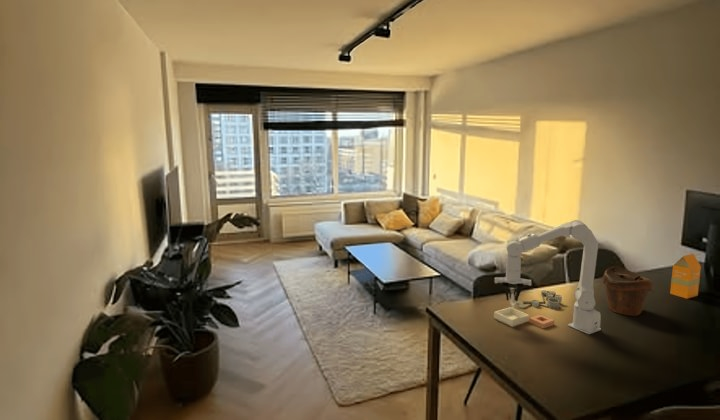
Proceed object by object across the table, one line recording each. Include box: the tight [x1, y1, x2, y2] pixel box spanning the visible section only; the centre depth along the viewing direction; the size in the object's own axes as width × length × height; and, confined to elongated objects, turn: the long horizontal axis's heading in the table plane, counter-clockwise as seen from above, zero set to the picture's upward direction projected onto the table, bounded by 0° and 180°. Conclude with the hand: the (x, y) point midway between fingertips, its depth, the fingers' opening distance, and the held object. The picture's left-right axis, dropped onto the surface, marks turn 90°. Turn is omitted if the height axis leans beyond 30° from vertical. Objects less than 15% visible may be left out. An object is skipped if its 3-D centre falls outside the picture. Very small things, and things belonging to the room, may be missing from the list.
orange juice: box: [669, 253, 702, 300], centre depth 205 cm, size 8×9×20 cm
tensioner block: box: [528, 314, 556, 329], centre depth 178 cm, size 7×7×2 cm
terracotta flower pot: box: [601, 266, 655, 316], centre depth 188 cm, size 18×20×18 cm
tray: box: [493, 306, 530, 328], centre depth 182 cm, size 10×10×3 cm
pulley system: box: [516, 289, 563, 310], centre depth 199 cm, size 27×5×15 cm
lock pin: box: [508, 287, 517, 309], centre depth 181 cm, size 3×3×8 cm
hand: (511, 299), depth 181 cm, fingers closed on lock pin, 3 cm apart
